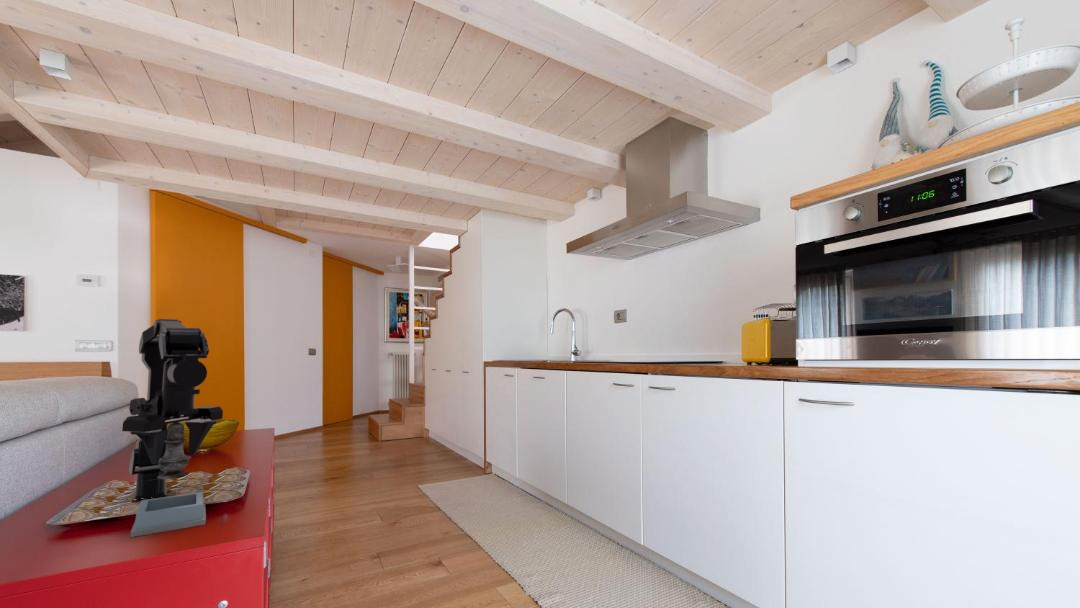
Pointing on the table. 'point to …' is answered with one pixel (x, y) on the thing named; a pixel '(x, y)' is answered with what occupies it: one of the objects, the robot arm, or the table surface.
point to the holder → (169, 514)
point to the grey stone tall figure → (174, 453)
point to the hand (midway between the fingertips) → (174, 459)
